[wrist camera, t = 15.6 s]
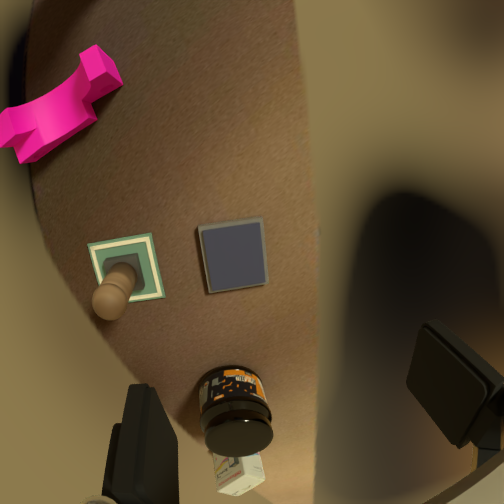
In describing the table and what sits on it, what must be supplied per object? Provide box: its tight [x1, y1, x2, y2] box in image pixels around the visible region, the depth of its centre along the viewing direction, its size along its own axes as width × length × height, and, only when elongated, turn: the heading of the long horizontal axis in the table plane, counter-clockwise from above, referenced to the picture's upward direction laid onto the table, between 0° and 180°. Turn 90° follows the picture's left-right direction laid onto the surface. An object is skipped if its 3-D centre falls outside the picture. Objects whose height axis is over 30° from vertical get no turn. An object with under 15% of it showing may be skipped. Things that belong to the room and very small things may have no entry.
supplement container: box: [199, 365, 273, 457], centre depth 41 cm, size 10×10×12 cm
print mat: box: [87, 233, 166, 302], centre depth 38 cm, size 9×9×1 cm
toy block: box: [0, 45, 123, 164], centre depth 27 cm, size 15×6×8 cm, turn 113°
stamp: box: [92, 253, 145, 321], centre depth 33 cm, size 4×4×10 cm
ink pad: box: [198, 216, 269, 293], centre depth 39 cm, size 9×8×2 cm
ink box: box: [213, 452, 265, 496], centre depth 47 cm, size 9×5×12 cm, turn 141°
